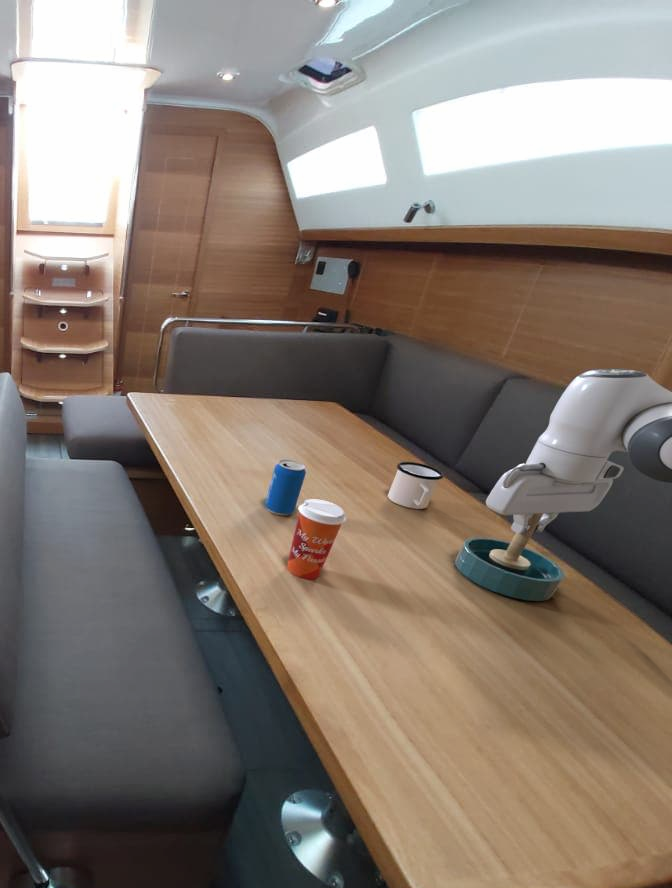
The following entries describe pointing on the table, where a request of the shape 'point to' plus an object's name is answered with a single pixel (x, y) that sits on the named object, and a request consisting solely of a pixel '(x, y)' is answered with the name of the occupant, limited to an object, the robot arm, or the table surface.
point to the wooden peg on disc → (515, 551)
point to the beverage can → (285, 487)
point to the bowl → (531, 586)
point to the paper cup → (314, 537)
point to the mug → (414, 484)
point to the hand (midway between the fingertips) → (525, 531)
